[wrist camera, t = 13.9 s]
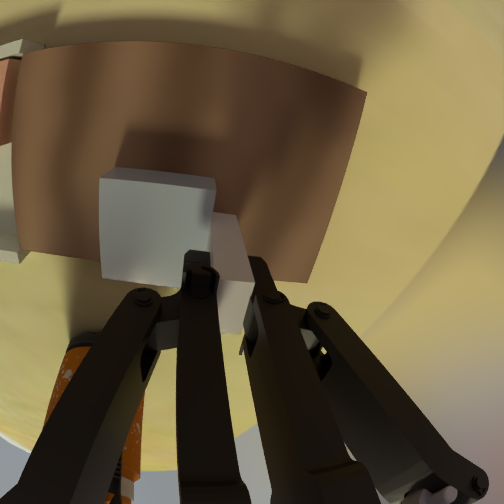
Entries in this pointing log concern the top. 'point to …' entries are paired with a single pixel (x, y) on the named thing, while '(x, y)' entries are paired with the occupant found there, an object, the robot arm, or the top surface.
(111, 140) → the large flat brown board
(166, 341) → the robot arm
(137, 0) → the top surface
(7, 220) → the tray
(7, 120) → the tile
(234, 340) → the top surface
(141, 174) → the tile
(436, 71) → the top surface
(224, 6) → the top surface
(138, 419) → the canister
